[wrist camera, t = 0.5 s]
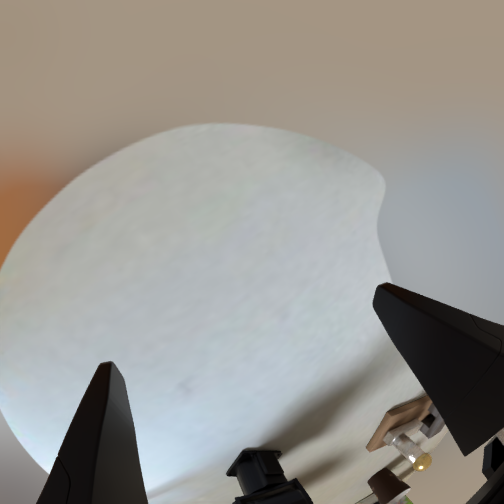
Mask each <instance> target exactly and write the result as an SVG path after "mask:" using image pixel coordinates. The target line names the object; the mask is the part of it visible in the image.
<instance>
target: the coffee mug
mask: <svg viewBox="0 0 504 504" xmlns="http://www.w3.org/2000/svg"><path fill="white" fill-rule="evenodd" d="M368 484H369V486H370V488H371V489H372V491H373V493H374V494H375V496H376V498H377V499H378V501H379V503H380V504H394V503H395V502H397V501H398V500H400V499H401V498H402V497H403V496H405V495H406V494H407V493H408V492H409V491H410V489H411V487H410V486H408V485H407V484H406V483H405V482H403V481H402V480H401V479H400V478H398V477H397V476H396V475H395V474H394V473H392V472H391V471H390V470H389V469H388V468H384V469H382V470H380V471H379V472H377V473H376V474H375V475H373V476H372V477H371V478H370V479H369V480H368Z"/></svg>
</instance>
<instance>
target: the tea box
mask: <svg viewBox="0 0 504 504" xmlns="http://www.w3.org/2000/svg"><path fill="white" fill-rule="evenodd" d="M355 504H380V503H379V501H378V499H377V498H376V496H375V494H372V495H370V496H368V497H367V498H365V499H363V500H361V501H359V502H357V503H355ZM394 504H413V503H412V502H411V501H410V500H409V498H408V497H407V496H406V495H405V496H403V497H402V498H401V499H400V500H398V501H397V502H395V503H394Z"/></svg>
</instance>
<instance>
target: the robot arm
mask: <svg viewBox="0 0 504 504" xmlns="http://www.w3.org/2000/svg"><path fill="white" fill-rule="evenodd" d="M373 308H374V310H375V312H376V314H377V315H378V317H379V319H380V321H381V322H382V324H383V326H384V328H385V330H386V331H387V333H388V335H389V337H390V338H391V340H392V342H393V343H394V345H395V346H396V348H397V349H398V351H399V352H400V354H401V355H402V356H403V358H404V359H405V361H406V362H407V364H408V365H409V367H410V368H411V370H412V371H413V373H414V374H415V376H416V377H417V379H418V381H419V382H420V384H421V385H422V387H423V388H424V390H425V391H426V393H427V395H428V396H429V398H430V399H431V401H432V403H433V404H434V406H435V407H436V409H437V411H438V412H439V414H440V416H441V417H442V419H443V421H444V422H445V424H446V426H447V428H448V429H449V431H450V433H451V434H452V436H453V438H454V440H455V441H456V443H457V445H458V447H459V448H460V450H461V452H462V453H463V455H464V456H467V455H468V454H470V453H471V452H473V451H474V450H475V449H477V448H478V447H480V446H481V445H482V444H484V443H485V442H486V441H488V440H489V439H490V438H491V437H493V436H494V435H495V436H494V437H493V438H492V439H491V440H490V442H489V443H488V444H487V445H486V446H485V447H484V459H483V468H482V473H483V474H484V475H485V477H486V478H487V480H488V481H487V482H486V483H485V484H484V485H483V486H482V487H481V488H480V489H479V491H478V492H476V494H475V495H474V496H473V497H472V498H471V499H470V500H469V501H468V502H467V503H466V504H504V325H500V324H497V323H494V322H491V321H488V320H485V319H483V318H480V317H477V316H475V315H472V314H469V313H467V312H464V311H462V310H459V309H457V308H454V307H451V306H449V305H446V304H443V303H441V302H439V301H436V300H433V299H431V298H428V297H425V296H423V295H420V294H417V293H415V292H412V291H409V290H407V289H404V288H401V287H399V286H396V285H393V284H391V283H388V282H386V283H383V284H380V285H378V286H377V288H376V291H375V295H374V299H373ZM281 455H282V453H281V451H243V452H241V453H240V455H239V456H238V458H237V459H236V460H235V462H234V463H233V464H232V466H231V467H230V469H229V470H228V471H227V473H226V475H227V476H233V477H237V479H238V481H239V484H240V487H241V489H242V492H243V494H244V496H241V497H235V500H236V501H235V502H233V503H232V504H313V502H312V500H311V498H310V497H309V495H308V494H307V492H306V491H305V489H304V488H303V487H302V485H301V484H300V483H299V481H298V480H297V478H295V479H292V480H291V481H287V479H286V477H285V476H284V474H283V473H284V471H283V469H282V467H281V465H280V464H279V462H278V459H279V457H280V456H281ZM36 504H148V500H147V496H146V492H145V487H144V482H143V477H142V472H141V466H140V461H139V455H138V448H137V441H136V434H135V427H134V422H133V418H132V414H131V409H130V405H129V400H128V395H127V390H126V385H125V381H124V378H123V376H122V374H121V373H120V371H119V370H118V368H117V367H116V365H115V364H114V362H112V361H109V362H103V363H100V364H99V366H98V368H97V370H96V372H95V374H94V376H93V378H92V380H91V382H90V384H89V386H88V388H87V390H86V392H85V394H84V396H83V398H82V400H81V402H80V404H79V407H78V409H77V411H76V413H75V415H74V417H73V420H72V422H71V424H70V426H69V429H68V431H67V433H66V436H65V438H64V440H63V443H62V445H61V447H60V450H59V452H58V456H57V457H56V460H55V462H54V465H53V467H52V470H51V472H50V475H49V477H48V479H47V482H46V484H45V486H44V488H43V490H42V492H41V494H40V496H39V499H38V501H37V503H36Z"/></svg>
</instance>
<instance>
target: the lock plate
mask: <svg viewBox="0 0 504 504" xmlns="http://www.w3.org/2000/svg"><path fill="white" fill-rule="evenodd" d="M417 418H418V419H419V420H420V421H421V422H422V423H423V425H422V426H421V428H420V429H419V430H420V431H421V432H422V433H423V434H424V435H426V436H427V437H428V438H431V437H433V436H434V435H436V434H437V433H439V432H440V431H441V429H442V428H443V426H444V425H445V422H444V421H443V419H442V417H441V416H440V414H439V412H438V411H437V409H436V407H435V406H434V404H433V403H432V401H431V399H430V398H429V396H428V395H427V396H425V397H423V398H421V399H418V400H416V401H414V402H411V403H409V404H406V405H404V406H401V407H399V408H396V409H394V410H391V411H388V412H387V413H386V414H385V416H384V418H383V420H382V421H381V423H380V425H379V427H378V428H377V430H376V432H375V433H374V435H373V437H372V438H371V440H370V442H369V443H368V445H367V446H366V449H367V450H368V451H369V452H372V451H374V450H376V449H379V448H381V447H383V446H386V445H387V444H386V443H385V442H384V441H383V439H384V437H385V436H386V434H387V433H388V431H391V430H393V429H395V428H398V427H400V426H402V425H404V424H406V423H409V422H411V421H413V420H415V419H417Z"/></svg>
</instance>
